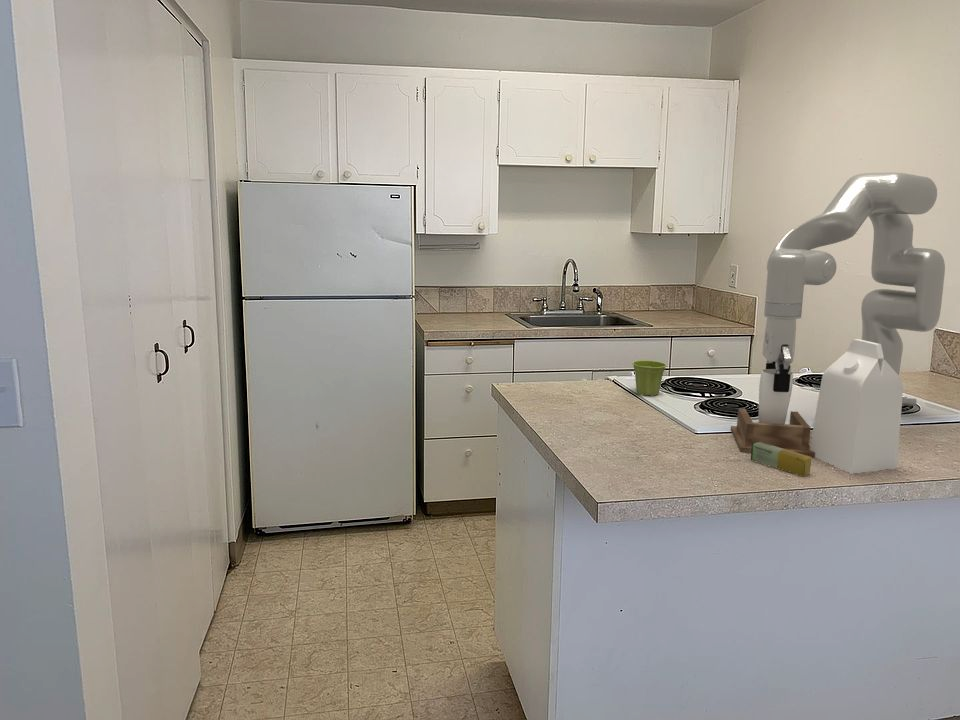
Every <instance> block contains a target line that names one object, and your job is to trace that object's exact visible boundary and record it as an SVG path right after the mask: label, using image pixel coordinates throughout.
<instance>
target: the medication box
mask: <svg viewBox="0 0 960 720" xmlns="http://www.w3.org/2000/svg"><path fill="white" fill-rule="evenodd" d="M812 459H813V457H810V456H806V455H803V454H800V453H796V452H793V451H790V450H786V449H783V448H780V447H776V446H773V445H770V444H766V443H763V442H760V441H757V442H754V443H752V448H751V453H750V461H752V460H753V461H752V462H755V461H757V462H756V463H758V462H760V463H759V464H762V463H763V464H762V465H765V464H766V465H765V466H768V465H770V466H769V467H771V466H773V467H772V468H774V467H777V468H780V469H783V470H782V471H784V470H786V471H785V472H787V471H790V472H792V473H791V474H793V473H795V474H794V475H796V474H798V475H797V476H799V475H801V476H800V477H803V476H805V477H807V476H806V475H808V474H809V475H810V474H811V466H812ZM777 468H776V469H777ZM780 469H779V470H780ZM790 472H789V473H790ZM809 475H808V476H809Z"/></svg>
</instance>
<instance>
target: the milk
mask: <svg viewBox="0 0 960 720" xmlns="http://www.w3.org/2000/svg"><path fill="white" fill-rule="evenodd" d="M903 391H904V383H903V380H902V379H901V377H900V374H899V375H898V374H897V373H896V372H895V371H894V370H893V369H892V367H891V366H890V365H889V364H888V363H887V362H886V361H885V360H884V356H883V352H882V347H881V344H878V343H873V342H869V341H865V340H862V339H859V338H854V339H852V341H851V342H850V344H849V346H848V348H847V350H846V351H845V353H843V354H842V355H841V356H840V357H839V358H837V359H836V360H835V361H834V362H833V363H832V364H830V366H829V367H828V368H827V369H826V370H825V371H824V372H823V374H822V377H821V382H820V387H819V393H818V398H817V404H816V405H817V406H816V411H815V416H814V422H813V429H812V433H811V437H810V438H811V439H810V443H809V445H810V450H811V451H813V452H815V457H814V458H815V459H817V460H819V459H820V460H819V461H822V462H825V463H826V462H827V463H826V464H828V463H829V465H830V464H831V466H832V465H834V466H833V467H835V466H836V467H835V468H837V467H839V468H841V469H843V470H845V471H847V472H846V473H848V472H849V473H848V474H850V473H851V474H850V475H854V474H853V473H858V474H861V473H860V472H866V473H869V472H868V471H875V472H877V471H876V470H883V471H886V470H885V469H891V470H894V469H893V468H897V469H898V461H899V459H898V458H899V449H900V448H899V447H900V435H901V434H900V433H901V432H900V431H901V421H902V409H903V408H902V407H903V406H902V397H903V393H904V392H903ZM839 468H838V469H839ZM841 469H840V470H841ZM843 470H842V471H843ZM845 471H844V472H845Z"/></svg>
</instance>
